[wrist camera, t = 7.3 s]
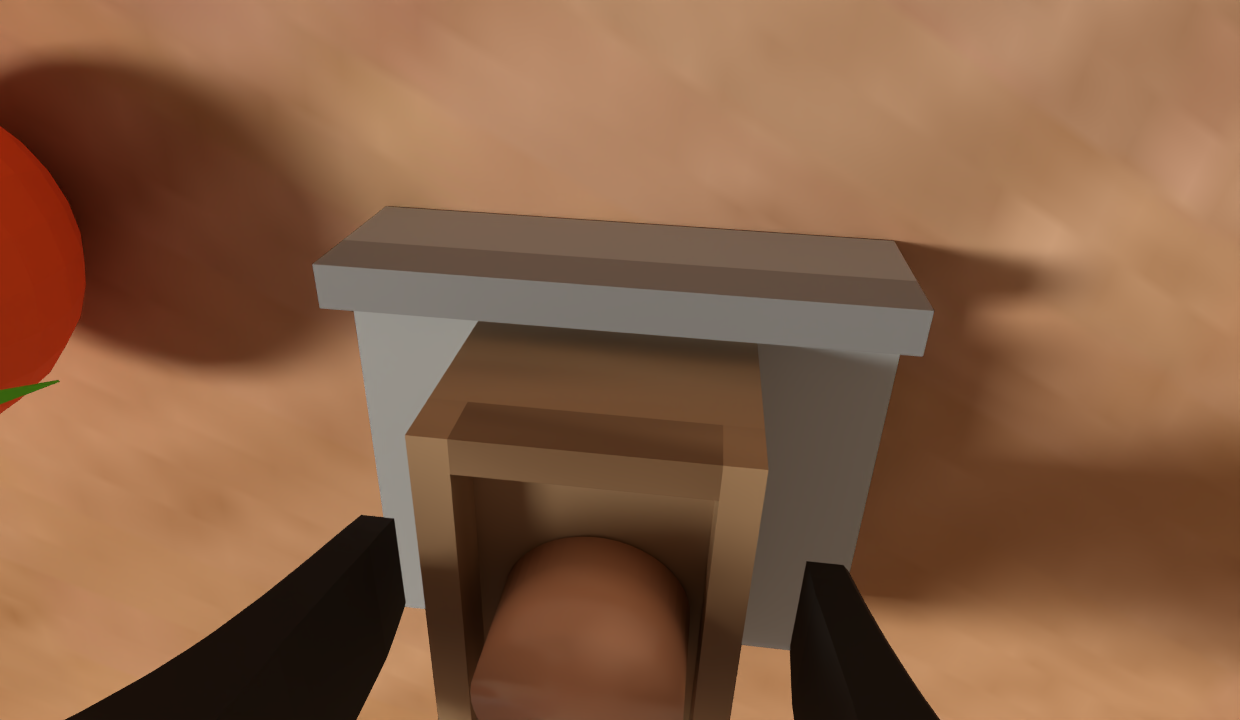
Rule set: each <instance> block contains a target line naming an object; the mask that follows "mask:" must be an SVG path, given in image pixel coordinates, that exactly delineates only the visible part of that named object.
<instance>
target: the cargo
mask: <svg viewBox="0 0 1240 720" xmlns="http://www.w3.org/2000/svg"><path fill="white" fill-rule="evenodd" d="M689 626H690V606H689V602H688V598H687V596H686V593H685V591H684V589H683V587H682V586H681V584H680V582H679V581H678V579H677V578H676V577H675V576H674V575H673V573H672V572H671V571H670V570H669V569H668V568H667V567H665V566H664V565H663V564H662V563H661V562H659V561H658V560H657V559H655V558H654V557H652V556H651V555H649V554H647V553H645V552H644V551H642V550H640V549H637V548H635V547H633V546H631V545H628V544H625V543H622V542H619V541H614V540H610V539H605V538H597V537H568V538H562V539H557V540H553V541H550V542H547V543H544V544H542V545H540V546H538V547H535V548H534V549H532V550H531V551H529V552H527V553H526V554H525V555H524V556H522V557H521V558H520V559H519V560H518V561H517V563H516V564H515V565H514V566H513V568H512V569H511V571H510V573H509V575H508V578H507V581H506V583H505V586H504V589H503V592H502V595H501V598H500V601H499V604H498V607H497V609H496V612H495V615H494V618H493V621H492V624H491V627H490V630H489V633H488V635H487V638H486V641H485V644H484V647H483V650H482V653H481V656H480V658H479V661H478V664H477V667H476V670H475V673H474V676H473V679H472V682H471V689H470V695H471V702H472V706H473V710H474V712H475V714H476V716H477V718H478V720H683V716H684V701H685V686H686V671H687V656H688V641H689Z"/></svg>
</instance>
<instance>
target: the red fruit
mask: <svg viewBox="0 0 1240 720" xmlns="http://www.w3.org/2000/svg"><path fill="white" fill-rule="evenodd" d="M85 287H86V279H85V261H84V254H83V247H82V240H81V233H80V230H79V228H78V225H77V223H76V220H75V218H74V215H73V213H72V210H71V207H70V205H69V202H68V201H67V199H66V198H65V196H64V194H63V193H62V191H61V190H60V188H59V187H58V185H57V184H56V182H55V180H54V179H53V177H52V176H51V174H50V173H49V171H48V170H47V169H46V168H45V167H44V166H43V165H42V164H41V162H40V161H39V160H38V159H37V158H36V157H35V156H34V155H33V154H32V153H31V152H30V151H29V150H28V148H27V147H26V146H25V145H24V144H23V143H22V142H21V141H19V140H18V139H17V138H15V137H14V136H13V135H11V134H10V133H9V132H7V131H6V130H5V129H4V128H2V127H1V126H0V414H1V413H2V412H3V411H5V410H6V409H7V408H9V407H10V406H11V405H13V404H14V403H16V402H17V401H18V400H20V399H21V398H22V397H23V396H24V395H26V394H29V393H31V392H34V391H36V390H39V389H42V388H44V387H47V386H49V385H52V384H55V383H57V382H60V381H59V380H56V381H50V382H44V383H39V382H40V381H41V380H42V379H43V378H44V377H45V376H46V375H48V374H49V373H50V372H51V370H52V368H53V367H54V365H55V363H56V362H57V360H58V358H59V356H60V355H61V353H62V351H63V350H64V348H65V346H66V344H67V343H68V341H69V339H70V337H71V335H72V333H73V331H74V329H75V327H76V325H77V323H78V321H79V319H80V317H81V312H82V306H83V299H84V293H85Z"/></svg>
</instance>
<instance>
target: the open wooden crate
mask: <svg viewBox="0 0 1240 720" xmlns="http://www.w3.org/2000/svg"><path fill="white" fill-rule="evenodd" d="M405 441H406V450H407V458H408V466H409V475H410V483H411V492H412V500H413V509H414V517H415V526H416V534H417V542H418V551H419V559H420V568H421V576H422V585H423V593H424V602H425V610H426V619H427V627H428V635H429V644H430V652H431V661H432V669H433V678H434V686H435V695H436V703H437V712H438V720H478V718H477V716H476V714H475V712H474V710H473V706H472V702H471V695H470V689H471V682H472V679H473V676H474V673H475V670H476V667H477V664H478V661H479V658H480V656H481V653H482V650H483V647H484V644H485V641H486V638H487V635H488V633H489V630H490V627H491V624H492V621H493V618H494V615H495V612H496V609H497V607H498V604H499V601H500V598H501V595H502V592H503V589H504V586H505V583H506V581H507V578H508V575H509V573H510V571H511V569H512V568H513V566H514V565H515V564H516V563H517V561H518V560H519V559H520V558H521V557H522V556H524V555H525V554H526V553H527V552H529V551H531V550H532V549H534V548H535V547H538V546H540V545H542V544H544V543H547V542H550V541H553V540H557V539H562V538H568V537H597V538H605V539H610V540H614V541H619V542H622V543H625V544H628V545H631V546H633V547H635V548H637V549H640V550H642V551H644V552H645V553H647V554H649V555H651V556H652V557H654V558H655V559H657V560H658V561H659V562H661V563H662V564H663V565H664V566H665V567H667V568H668V569H669V570H670V571H671V572H672V573H673V575H674V576H675V577H676V578H677V579H678V581H679V582H680V584H681V586H682V587H683V589H684V591H685V593H686V596H687V598H688V602H689V606H690V626H689V641H688V656H687V671H686V686H685V701H684V716H683V720H730V716H731V709H732V703H733V696H734V690H735V683H736V677H737V671H738V664H739V658H740V651H741V645H742V638H743V632H744V625H745V619H746V612H747V606H748V600H749V593H750V587H751V580H752V574H753V567H754V561H755V554H756V548H757V541H758V535H759V529H760V522H761V516H762V509H763V503H764V496H765V490H766V483H767V477H768V471H769V469H768V458H767V447H766V435H765V424H764V412H763V401H762V390H761V378H760V367H759V356H758V344H757V343H747V342H735V341H722V340H710V339H697V338H685V337H672V336H660V335H647V334H635V333H622V332H610V331H597V330H585V329H572V328H560V327H547V326H535V325H522V324H510V323H497V322H485V321H478V322H477V324H476V325H475V327H474V328H473V330H472V331H471V333H470V334H469V336H468V338H467V339H466V341H465V342H464V344H463V345H462V347H461V348H460V350H459V352H458V353H457V355H456V356H455V358H454V359H453V361H452V363H451V364H450V366H449V367H448V369H447V370H446V372H445V373H444V375H443V377H442V378H441V380H440V381H439V383H438V384H437V386H436V387H435V389H434V391H433V392H432V394H431V395H430V397H429V398H428V400H427V401H426V403H425V405H424V406H423V408H422V409H421V411H420V412H419V414H418V415H417V417H416V419H415V420H414V422H413V423H412V425H411V426H410V428H409V429H408V431H407V433H406V434H405Z"/></svg>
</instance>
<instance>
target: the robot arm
mask: <svg viewBox="0 0 1240 720" xmlns="http://www.w3.org/2000/svg"><path fill="white" fill-rule="evenodd" d="M405 604H406V600H405V593H404V586H403V579H402V571H401V564H400V557H399V550H398V542H397V535H396V528H395V520H394V518H385V517H375V516H366V515H361V516H359V517H358V518H357V519H356V520H355V521H353V522H352V523H351V524H350V525H348V526H347V527H346V528H345V529H343V530H342V531H341V532H340V533H339V534H337V535H336V536H335V537H334V538H333V539H331V540H330V541H329V542H328V543H327V544H325V545H324V546H323V547H322V548H321V549H319V550H318V551H317V552H316V553H315V554H313V555H312V556H311V557H310V558H309V559H307V560H306V561H305V562H304V563H303V564H301V565H300V566H299V567H298V568H297V569H295V570H294V571H293V572H292V573H290V574H289V575H288V576H287V577H285V578H284V579H283V580H282V581H280V582H279V583H278V584H277V585H275V586H274V587H273V588H272V589H270V590H269V591H268V592H267V593H265V594H264V595H263V596H262V597H260V598H259V599H258V600H256V601H255V602H254V603H252V604H251V605H250V606H248V607H247V608H245V609H244V610H243V611H241V612H240V613H239V614H237V615H236V616H235V617H233V618H232V619H231V620H229V621H228V622H227V623H225V624H224V625H222V626H221V627H220V628H218V629H217V630H216V631H214V632H213V633H211V634H210V635H208V636H207V637H206V638H204V639H203V640H201V641H200V642H198V643H197V644H195V645H194V646H192V647H191V648H189V649H188V650H186V651H184V652H183V653H181V654H180V655H178V656H177V657H175V658H173V659H172V660H170V661H169V662H167V663H165V664H164V665H162V666H161V667H159V668H157V669H156V670H154V671H153V672H151V673H149V674H148V675H146V676H144V677H142V678H141V679H139V680H137V681H135V682H134V683H132V684H130V685H128V686H126V687H125V688H123V689H121V690H119V691H117V692H116V693H114V694H112V695H110V696H108V697H107V698H105V699H103V700H101V701H99V702H98V703H96V704H94V705H92V706H90V707H89V708H87V709H85V710H83V711H81V712H79V713H77V714H75V715H73V716H71V717H69V718H67V719H65V720H356V719H357V717H358V715H359V713H360V711H361V709H362V707H363V705H364V703H365V701H366V699H367V697H368V695H369V693H370V691H371V689H372V687H373V685H374V683H375V681H376V679H377V677H378V675H379V673H380V671H381V669H382V667H383V664H384V662H385V660H386V658H387V656H388V653H389V650H390V648H391V645H392V642H393V639H394V637H395V634H396V631H397V628H398V625H399V622H400V619H401V616H402V613H403V610H404V607H405ZM790 664H791V689H792V707H793V714H794V720H940V719H939V718H938V716H937V715H936V714H935V712H934V711H933V709H932V708H931V707H930V705H929V704H928V702H927V701H926V700H925V698H924V697H923V695H922V694H921V692H920V691H919V689H918V688H917V687H916V685H915V684H914V682H913V681H912V679H911V678H910V676H909V675H908V673H907V671H906V670H905V668H904V667H903V665H902V664H901V662H900V660H899V659H898V657H897V656H896V654H895V653H894V651H893V649H892V648H891V646H890V645H889V643H888V641H887V640H886V638H885V636H884V635H883V633H882V631H881V630H880V628H879V626H878V625H877V623H876V621H875V619H874V618H873V616H872V614H871V612H870V611H869V609H868V607H867V605H866V603H865V602H864V600H863V598H862V596H861V594H860V592H859V590H858V589H857V587H856V585H855V583H854V581H853V579H852V577H851V575H850V573H849V571H848V570H847V569H846V567H845V566H844V565H839V564H830V563H820V562H810V561H806V566H805V571H804V576H803V582H802V587H801V592H800V597H799V602H798V607H797V612H796V618H795V623H794V628H793V633H792V638H791V643H790Z"/></svg>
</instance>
